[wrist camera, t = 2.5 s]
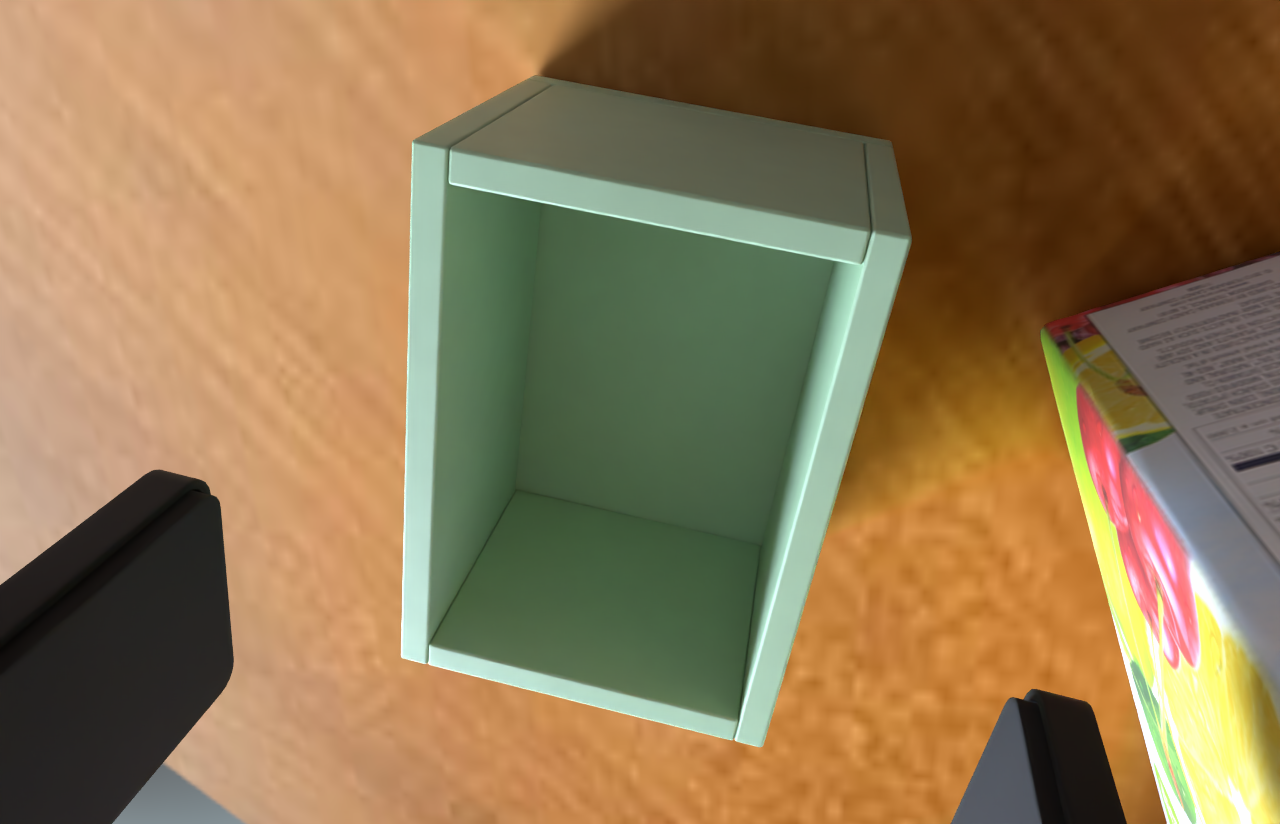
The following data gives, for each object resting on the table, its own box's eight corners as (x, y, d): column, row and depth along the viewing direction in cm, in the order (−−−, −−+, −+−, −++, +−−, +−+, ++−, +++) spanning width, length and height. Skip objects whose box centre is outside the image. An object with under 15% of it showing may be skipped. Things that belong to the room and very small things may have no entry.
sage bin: (499, 490, 21) (399, 658, 16) (533, 74, 17) (410, 139, 12) (781, 554, 21) (762, 749, 16) (892, 140, 16) (913, 237, 11)
